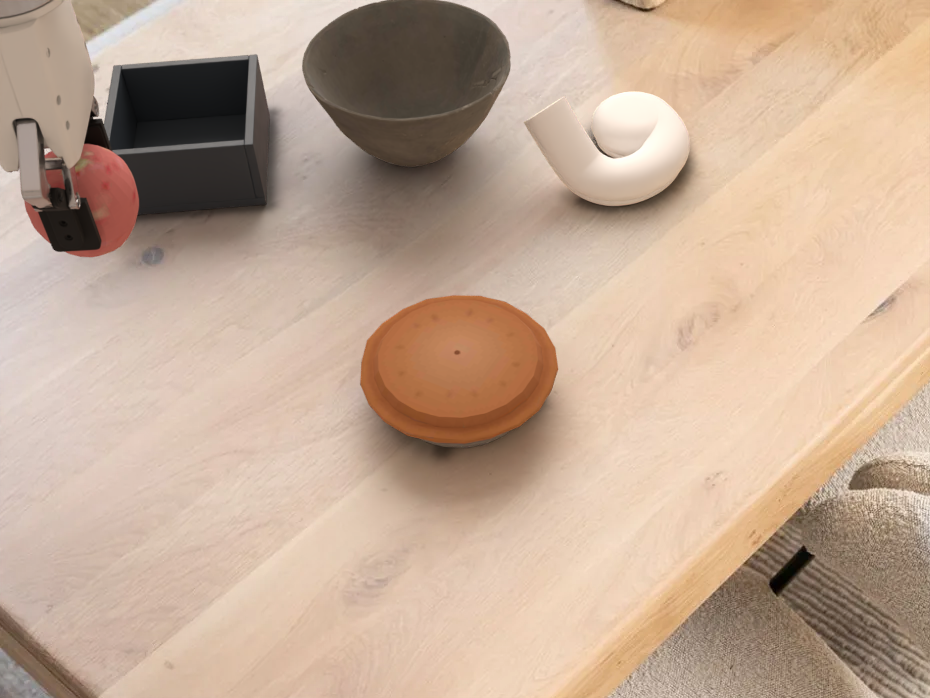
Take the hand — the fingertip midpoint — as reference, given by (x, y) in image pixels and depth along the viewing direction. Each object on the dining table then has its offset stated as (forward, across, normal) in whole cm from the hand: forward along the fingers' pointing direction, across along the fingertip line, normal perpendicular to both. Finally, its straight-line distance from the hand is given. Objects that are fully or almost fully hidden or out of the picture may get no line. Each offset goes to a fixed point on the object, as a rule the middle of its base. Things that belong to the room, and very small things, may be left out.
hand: (86, 206), depth 85 cm
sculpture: (+19, -25, +41) cm, 52 cm away
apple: (+3, 0, 0) cm, 3 cm away
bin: (+20, -29, +1) cm, 35 cm away
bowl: (+20, -29, +22) cm, 42 cm away
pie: (+19, +2, +25) cm, 32 cm away
